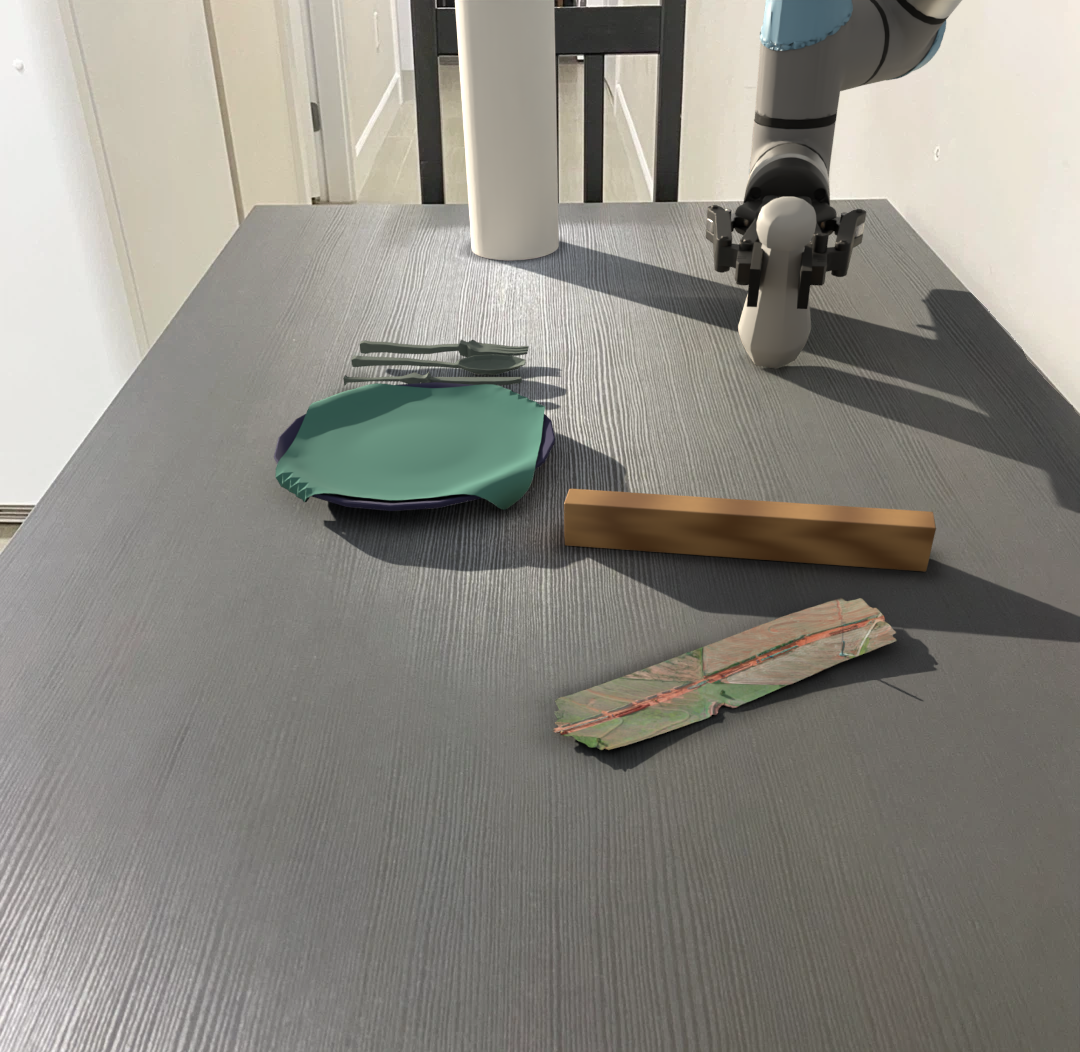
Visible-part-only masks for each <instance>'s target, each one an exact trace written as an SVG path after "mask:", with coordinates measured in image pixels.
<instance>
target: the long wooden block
mask: <svg viewBox="0 0 1080 1052" xmlns="http://www.w3.org/2000/svg"><path fill="white" fill-rule="evenodd" d="M563 520H564V521H563V522H564V523H563V525H564V529H563V530H564V546H569V547H582V548H595V549H609V550H623V551H635V552H636V551H638V552H648V553H649V552H651V553H665V554H679V555H691V556H692V555H693V556H704V557H705V556H706V557H718V558H730V559H731V558H732V559H747V560H759V561H773V562H774V561H776V562H785V563H786V562H787V563H803V564H814V565H828V566H829V565H830V566H840V567H841V566H842V567H843V566H844V567H854V568H855V567H856V568H870V569H882V570H883V569H884V570H896V571H912V572H927V569H928V565H929V561H930V557H931V553H932V548H933V544H934V539H935V535H936V530H937V525H936V519H935V514H934V511H925V510H912V509H911V510H910V509H894V508H879V507H865V506H864V507H863V506H849V505H846V506H845V505H833V504H832V505H831V504H816V503H801V502H800V503H799V502H787V501H786V502H785V501H770V500H769V501H768V500H753V499H739V498H725V497H707V496H693V495H679V494H678V495H677V494H663V493H662V494H661V493H646V492H629V491H615V490H614V491H613V490H600V489H599V490H597V489H583V488H569V489H568V492H567V494H566V497H565V500H564V503H563Z"/></svg>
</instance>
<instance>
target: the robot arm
mask: <svg viewBox="0 0 1080 1052" xmlns="http://www.w3.org/2000/svg"><path fill="white" fill-rule="evenodd" d="M962 1H963V0H765V3H764V4H765V5H764V13H763V19H762V25H761V27H760V28H761V29H760V32H759V55H758V57H759V58H758V68H757V69H758V70H757V80H756V81H757V82H756V83H757V84H756V95H755V108H754V119H753V126H752V136H751V137H752V139H751V147H750V160H749V167H748V179H747V182H746V186H745V192H744V196H743V202H742V204H740V205H739V206H737V208H736V209H735V211H734V213H732V209H731V208H726V209H725V208H724V207H722V206H720V205H718V204H712V205H710V206H707V212H706V223H705V225H706V227H705V228H706V229H705V239H707V240H708V241H709V242H710V243H711V244H712V249H713V251H712V252H713V266H714V271H715V272H717V273H723V274H724V273H728V272H729V271H730V270H731V268H733V269H735V272H734V282H735V284H736V285H737V286H748V289H747V294H748V298H747V297H746V298H747V307H757V302H758V295H759V287H760V277H761V267H762V256H763V249H762V248H761V246H762V243H761V242H760V240H759V237H758V234H757V220H758V216H759V213H760V211H761V209H762V207H763V206H765V205H766V204H767V203H769V202H770V201H772V200H773V199H776V198H780V197H797V198H800V199H803V200H805V201H806V202H808V203H809V204H810V205H811V206H812V207H814V210H815V213H816V228H815V232H814V234H813V237H812V239H811V241H810V243H808V244H807V245H805V246H804V247H805V249H804V252H802V258H801V266H800V274H799V283H798V296H797V309H807V307H808V300H809V301H810V290H811V286H817V287H818V286H819V287H820V286H821V287H823V286H824V285H825V283H826V282H825V281H826V275H827V272H830V275H831V276H833V277H836V278H843V277H846V276H847V275H848V271H849V267H850V262H851V258H852V254H853V250H854V248H856V247H857V246H859V245H860V244H861V245H862V242H863V237H864V230H865V225H866V224H865V223H866V217H867V210H865V209H862V208H856V209H852V210H851V211H849V212H846V211H844V212H841V213H840V216H838V214H837V213H838V212H837V210H836V209H835V208H834V207H833V206H831V190H830V188H831V187H830V170H831V162H832V161H831V160H832V153H833V147H834V137H835V130H836V123H837V117H838V116H837V115H838V110H839V109H838V108H839V101H840V95H841V92H843V91H847V90H851V89H854V88H855V89H856V88H858V87H862V86H867V85H872V84H875V83H880V82H884V81H891V80H897V79H901V78H903V77H905V76H907V75H910V74H911V73H912V72H916V71H917V70H919V69H921V68H923V67H924V66H926V65H927V64H928V63H929V62H930V61H931V60H932V59H933V58H934V57H935V56H936V54H937V53H938V52H939V49H940V48H941V46H942V42H943V39H944V36H945V33H946V29H947V20H948V19H949V17H950V16H951V15H952V14H953V12H954V11H955V10H956V9H957V7H958V6H959V5H960V4H961V2H962ZM734 231H735V232H736V233H737V234H740V235H741V238H740V240H739V242H738V243H733V232H734ZM833 233H834V235H835V236H836V239H835V242H834V246H828V243H829V238H830V237H829V236H831V235H833Z"/></svg>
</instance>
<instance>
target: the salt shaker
mask: <svg viewBox="0 0 1080 1052" xmlns="http://www.w3.org/2000/svg"><path fill="white" fill-rule="evenodd" d="M815 228H816V213H815V210H814V207H812V206H811V205H810V204H809V203H808V202H806V201H805V200H803V199H800V198H797V197H780V198H776V199H773V200H772V201H770V202H769V203H767V204H766V205H765V206H763V207H762V209H761V211H760V213H759V216H758V220H757V234H758V237H759V240H760V242H761V243H762V246H761V248H762V249H763V256H762V267H761V277H760V287H759V295H758V302H757V307H747V298H748V293H746V298H745V302H744V304H743V308H742V311H741V315H740V318H739V322H738V325H737V329H738V334H739V335H738V336H739V338H740V342H741V344H742V345H743V347H744V349H745V351H746V354H747V356H749V358H750V360H751V361H752V362H753V365H754V366H758V367H763V368H769V369H775V370H777V369H780V368H782V367H784V366H786V365H788V364H790V363H792V362H794V361H796V359H797V357H798V356H799V355H800V353H801V352H802V350H803V349H804V348H805V346H806V344H807V342H808V339H809V336H810V333H811V331H812V320H811V308H810V307H811V306H810V299H809V300H808V307H807V309H797V296H798V283H799V274H800V266H801V258H802V252H804V249H805V247H804V246H805V245H807V244H808V243H810V241H811V239H812V237H813V234H814V232H815Z"/></svg>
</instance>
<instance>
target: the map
mask: <svg viewBox="0 0 1080 1052" xmlns="http://www.w3.org/2000/svg"><path fill="white" fill-rule="evenodd" d="M885 620H886V618H885V616H884V613H882V612H881V610H880V609H878V608H877V607H871V606H870V605H869V604H868V603H867V602H866V601H865V600H864V599H863V598H861V597H860V598H857V599H852V600H851V599H850V600H848V601H847V600H845V599H844V598H843V597H840V598H837V599H833V600H830V601H826V602H824V603H820V604H818V605H814V606H812V607H807V608H805V609H802V610H798V611H795V612H792V613H789V614H787V615H784V616H783V615H782V616H780V617H778V618H776V619H773V620H770V621H768V622H766V623H765V622H764V623H762V624H758V625H756V626H754V627H752V628H748V629H745V630H744V631H741V632H738V633H735V634H733V635H731V636H727V637H726V638H723V639H719V640H717V641H715V642H713V643H709V644H707V645H704V646H701V647H699V648H697V649H693V650H691V651H687V652H685V653H683V654H680V655H677V656H675V657H673V658H669V659H667V660H665V661H664V660H663V661H661V662H659V663H655V664H654V665H653V664H652V665H651V666H648V667H645V668H642V669H638V670H637V671H634V672H630V673H628V674H625V675H623V676H620V677H617V678H615V679H611V680H609V681H606V682H603V683H600V684H598V685H594V686H591V687H589V688H586V689H583V690H580V691H577V692H573V693H572V694H567V695H564V696H560V697H558V698H555V700H554V703H555V706H557V708H558V710H555V711H554V712H553V714H554V715H555V717H556V719H557V720H556V721H555V722H554V725H556V727H554V728H552V732H554V733H556V734H560V735H561V736H564V737H573V739H574V740H576V742H577V741H578V742H580V743H582V744H584V745H586V746H587V747H588V748H597V749H599V750H600V751H603V750H604V749H605V750H608V751H610V750H613V749H617V748H620V747H625V746H629V745H632V744H635V743H637V742H641V741H644V740H647V739H651V738H653V737H656V736H659V735H662V734H665V733H667V732H671V731H673V730H674V731H675V730H677V729H680V728H683V727H685V726H688V725H691V724H694V723H697V722H700V721H703V720H706V719H709V718H710V717H712V715H714V716H717V715H718V713H719V710H720V708H721V707H722V706H725V707H727V708H731V709H735V708H736V709H737V708H738V707H740V706H742V705H745V704H747V703H749V702H752V701H754V700H757V699H758V698H761V697H764V696H765V695H769V694H770V693H772V692H775V691H777V690H779V689H782V688H784V687H786V686H789V685H793V684H794V683H797V682H799V681H801V680H804V679H807V678H808V677H811V676H813V675H816V674H818V673H820V672H822V671H824V670H827V669H829V668H831V667H833V666H836V665H838V664H841V663H843V662H846V661H848V660H851V659H853V658H857V657H859V656H862V655H863V654H867V653H870V652H872V651H875V650H877V649H879V648H881V647H884V646H887V645H890V644H892V643H894V642H895V643H896V642H897V641H898V640H897V639H896V637H894V636H893V635H895V634H897V631H896V630H894V629H893V628H892V626H891V625H890V624H889V622H887V621H885Z"/></svg>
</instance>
